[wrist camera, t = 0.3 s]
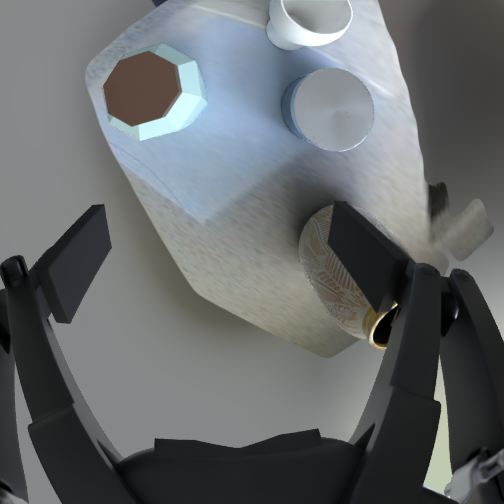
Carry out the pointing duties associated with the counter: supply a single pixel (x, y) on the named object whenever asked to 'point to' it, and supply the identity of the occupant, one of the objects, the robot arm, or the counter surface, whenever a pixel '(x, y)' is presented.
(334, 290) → the vase
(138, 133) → the water bottle
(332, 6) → the cup
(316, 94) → the navy round container
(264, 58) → the counter surface
